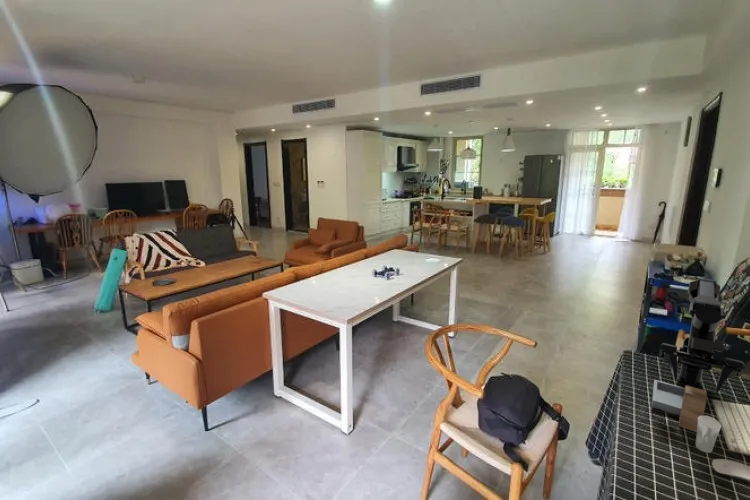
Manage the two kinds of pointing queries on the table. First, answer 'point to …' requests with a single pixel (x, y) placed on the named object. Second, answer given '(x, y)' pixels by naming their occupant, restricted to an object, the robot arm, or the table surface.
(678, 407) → the tray
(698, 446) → the milkshake
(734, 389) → the table surface
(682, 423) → the block
